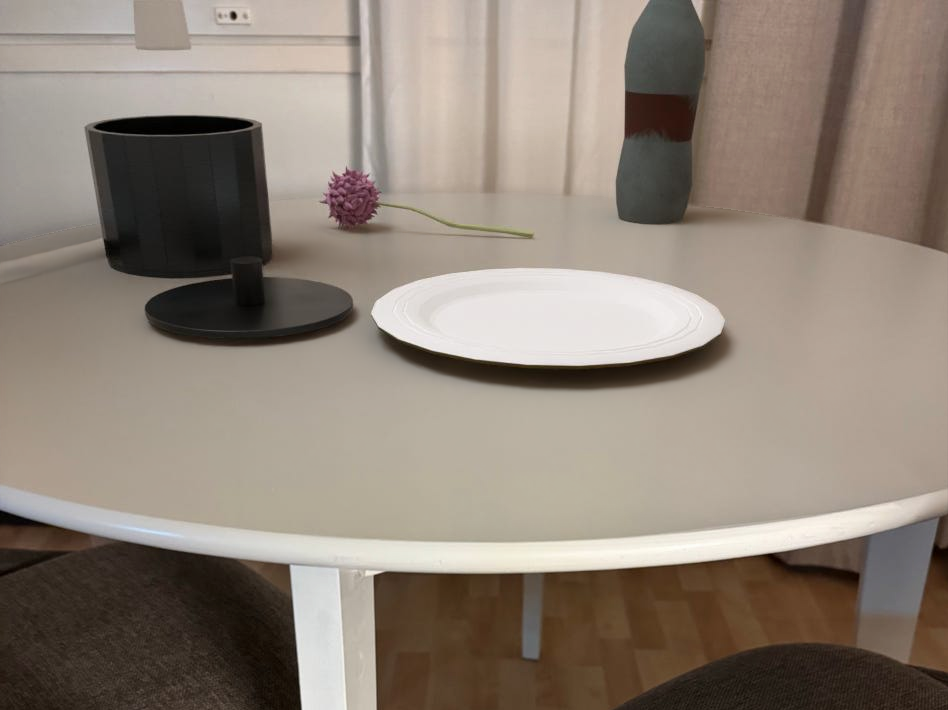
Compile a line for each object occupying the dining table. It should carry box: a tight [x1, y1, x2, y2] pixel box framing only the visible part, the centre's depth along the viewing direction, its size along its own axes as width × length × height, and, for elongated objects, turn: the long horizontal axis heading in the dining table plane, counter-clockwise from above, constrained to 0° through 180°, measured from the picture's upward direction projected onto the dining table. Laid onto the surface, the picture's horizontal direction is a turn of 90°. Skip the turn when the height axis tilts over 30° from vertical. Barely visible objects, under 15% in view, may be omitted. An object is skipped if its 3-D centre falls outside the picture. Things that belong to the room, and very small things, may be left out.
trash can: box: [83, 114, 274, 278], centre depth 107 cm, size 17×17×12 cm
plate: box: [370, 267, 726, 371], centre depth 89 cm, size 29×29×2 cm
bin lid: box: [144, 256, 354, 340], centre depth 91 cm, size 18×18×5 cm
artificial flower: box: [318, 165, 535, 239], centre depth 121 cm, size 7×7×25 cm
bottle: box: [615, 0, 706, 225], centre depth 123 cm, size 9×9×30 cm
